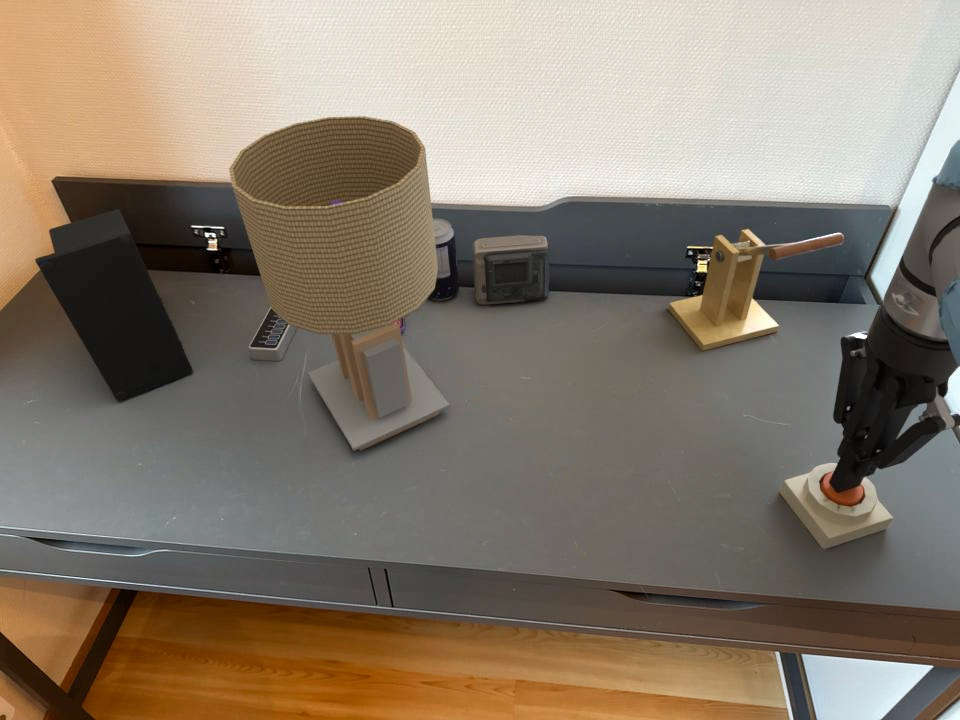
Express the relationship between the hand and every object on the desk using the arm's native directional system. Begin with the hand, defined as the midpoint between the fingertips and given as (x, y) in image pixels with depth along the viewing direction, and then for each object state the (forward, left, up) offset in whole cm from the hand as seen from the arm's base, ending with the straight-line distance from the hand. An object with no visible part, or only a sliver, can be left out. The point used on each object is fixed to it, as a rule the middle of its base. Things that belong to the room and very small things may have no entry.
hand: (843, 484), depth 76 cm
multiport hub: (+54, +56, -5) cm, 78 cm away
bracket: (+33, -6, -5) cm, 34 cm away
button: (0, 0, -2) cm, 2 cm away
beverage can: (+54, +31, -5) cm, 62 cm away
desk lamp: (+34, +45, -5) cm, 57 cm away
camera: (+49, +21, -5) cm, 53 cm away
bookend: (+58, +77, -5) cm, 97 cm away
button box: (0, 0, -5) cm, 5 cm away
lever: (+27, -6, +10) cm, 29 cm away
